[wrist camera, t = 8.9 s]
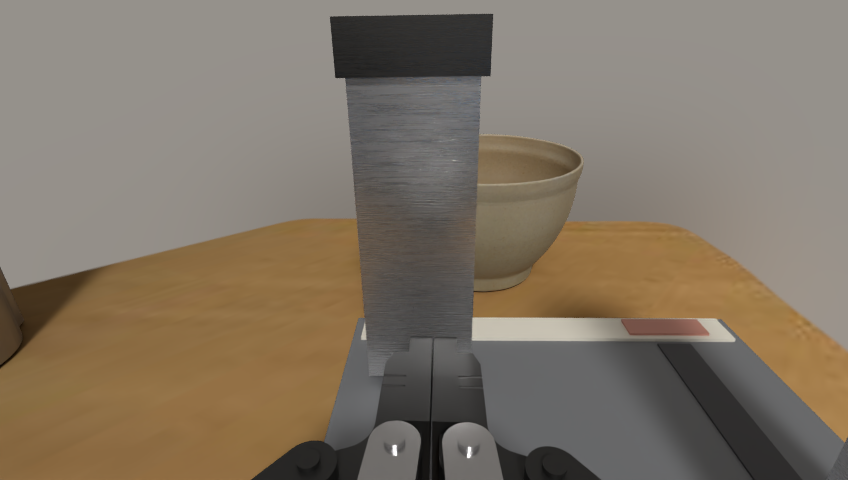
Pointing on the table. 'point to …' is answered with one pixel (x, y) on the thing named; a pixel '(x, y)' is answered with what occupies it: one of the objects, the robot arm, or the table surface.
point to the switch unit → (624, 399)
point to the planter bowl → (519, 205)
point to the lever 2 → (840, 465)
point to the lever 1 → (414, 170)
